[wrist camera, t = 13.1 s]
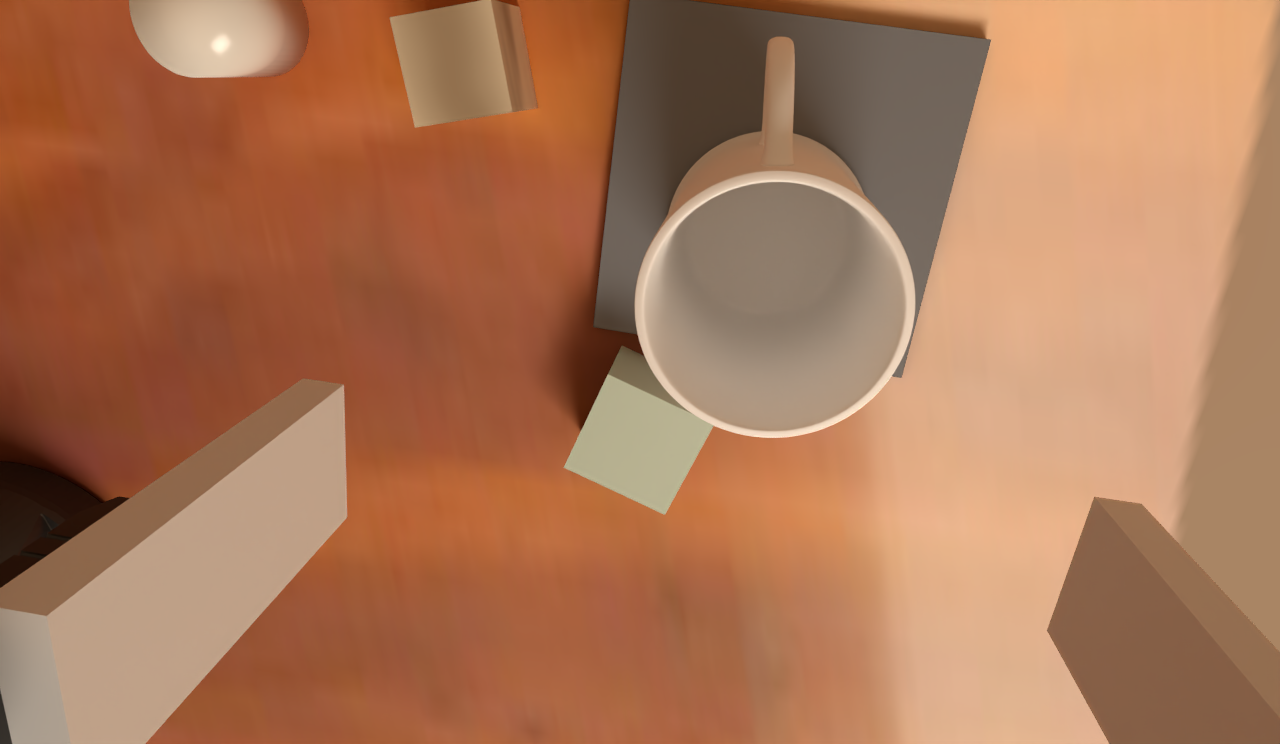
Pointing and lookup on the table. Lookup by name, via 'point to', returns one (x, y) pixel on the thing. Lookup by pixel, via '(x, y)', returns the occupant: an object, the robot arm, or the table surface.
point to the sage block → (637, 436)
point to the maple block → (464, 62)
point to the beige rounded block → (222, 35)
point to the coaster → (823, 111)
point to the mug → (774, 281)
